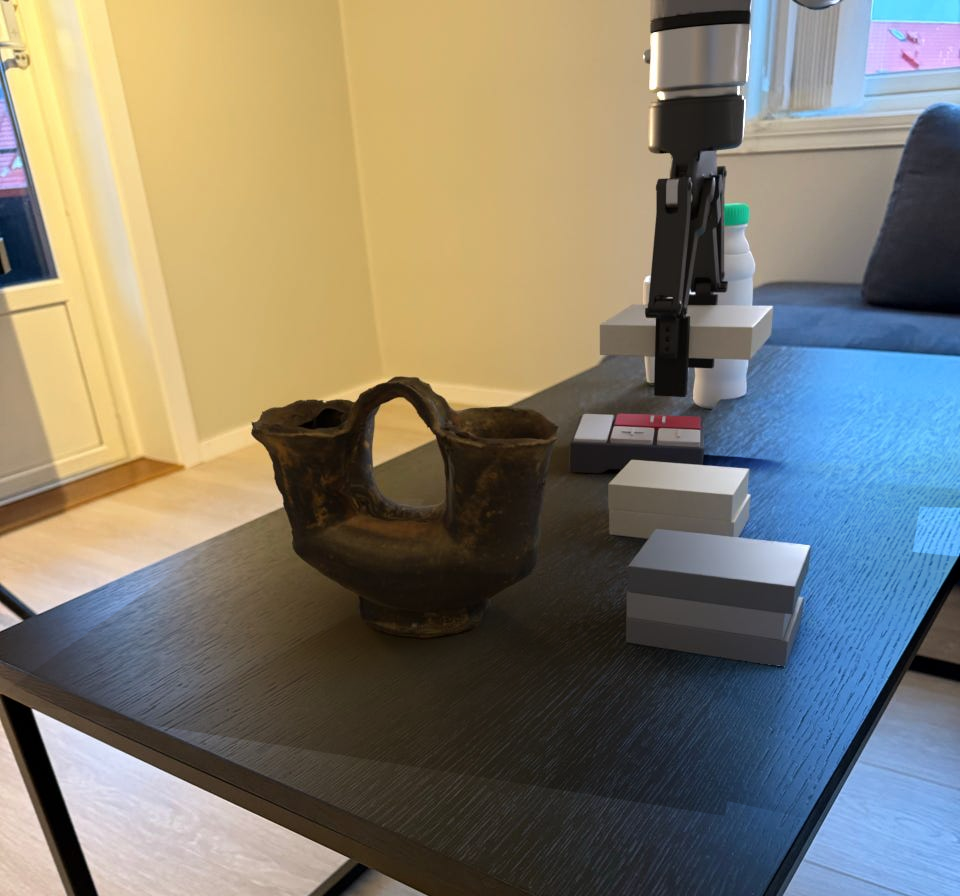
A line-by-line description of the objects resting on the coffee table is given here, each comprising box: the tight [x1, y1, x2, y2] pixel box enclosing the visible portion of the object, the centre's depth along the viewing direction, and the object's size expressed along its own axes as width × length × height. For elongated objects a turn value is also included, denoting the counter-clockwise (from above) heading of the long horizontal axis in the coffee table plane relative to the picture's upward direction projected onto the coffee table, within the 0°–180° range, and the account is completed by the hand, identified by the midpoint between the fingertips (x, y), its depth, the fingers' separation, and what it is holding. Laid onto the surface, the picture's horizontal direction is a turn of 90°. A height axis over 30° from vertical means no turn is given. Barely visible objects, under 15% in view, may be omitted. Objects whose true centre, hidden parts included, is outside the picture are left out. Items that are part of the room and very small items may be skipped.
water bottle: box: [692, 202, 756, 410], centre depth 122 cm, size 7×7×25 cm
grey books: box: [625, 529, 812, 668], centre depth 71 cm, size 12×8×7 cm, turn 65°
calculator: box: [568, 413, 705, 474], centre depth 109 cm, size 11×4×15 cm
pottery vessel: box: [250, 375, 559, 639], centre depth 75 cm, size 25×11×20 cm, turn 71°
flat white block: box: [599, 303, 774, 361], centre depth 82 cm, size 13×10×3 cm
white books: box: [607, 460, 751, 540], centre depth 90 cm, size 12×8×5 cm, turn 65°
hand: (685, 380), depth 84 cm, fingers closed on flat white block, 9 cm apart
